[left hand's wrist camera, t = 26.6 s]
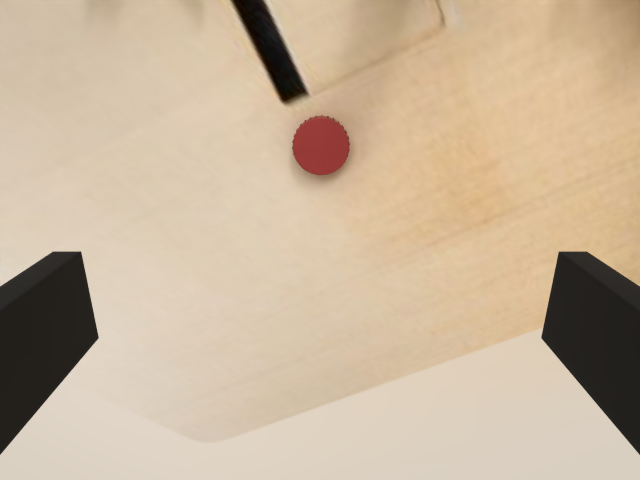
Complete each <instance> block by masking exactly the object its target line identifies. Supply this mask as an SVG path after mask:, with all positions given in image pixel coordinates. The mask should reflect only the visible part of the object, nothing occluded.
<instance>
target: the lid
mask: <svg viewBox="0 0 640 480" xmlns="http://www.w3.org/2000/svg"><path fill="white" fill-rule="evenodd" d="M343 128H344V127H343V126H341V125H340V124H339V122H337V121H335V120H334V118H333V119H332V118H329V116H327V117H324V116H323V115H321V116H318V117H317V116H316V117H313V118H311V117H310V119H308V120H307V121H306V120H305V122H304V123H303V124H301V125H300V127H299V129H297V132H296V134H295V135H294V140H293V148H292V149H293V152H294V156H295V158H296V160H297V162H298V163H299V165H300V166H301V167H302V168H303V169H305V170H306V171H308V172H310V173H312V174H317V175H325V174H329V173H332V172H334V171H336V170H337V169H339V168H340V167H341V166H342V165H343V163H344V162H345V160H346V158H347V157H348V152H349V145H350V144H349V141H348V139H349V138H348V136H347V135H346V133H347V132H346V130H344V129H343Z"/></svg>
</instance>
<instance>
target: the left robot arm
mask: <svg viewBox="0 0 640 480" xmlns="http://www.w3.org/2000/svg"><path fill="white" fill-rule="evenodd" d="M98 338H99V337H98V332H97V327H96V323H95V318H94V313H93V308H92V303H91V298H90V293H89V288H88V283H87V278H86V273H85V269H84V264H83V259H82V254H81V252H52V253H50V254H49V255H47V256H46V257H44V258H43V259H41V260H40V261H38V262H37V263H35V264H34V265H32V266H31V267H29V268H28V269H26V270H25V271H23V272H22V273H20V274H19V275H17V276H16V277H14V278H13V279H11V280H10V281H8V282H7V283H5V284H3V285H2V286H0V454H1V453H2V452H3V451H4V450H5V448H6V447H7V446H8V445H9V444H10V442H11V441H12V440H13V439H14V438H15V436H16V435H17V434H18V433H19V432H20V431H21V429H22V428H23V427H24V426H25V425H26V423H27V422H28V421H29V420H30V419H31V418H32V416H33V415H34V414H35V413H36V412H37V410H38V409H39V408H40V407H41V406H42V405H43V403H44V402H45V401H46V400H47V399H48V397H49V396H50V395H51V394H52V393H53V391H54V390H55V389H56V388H57V387H58V386H59V384H60V383H61V382H62V381H63V380H64V378H65V377H66V376H67V375H68V374H69V373H70V371H71V370H72V369H73V368H74V367H75V365H76V364H77V363H78V362H79V361H80V359H81V358H82V357H83V356H84V355H85V354H86V352H87V351H88V350H89V349H90V348H91V346H92V345H93V344H94V343H95V342H96V341H97V339H98ZM542 339H543V341H544V342H545V343H546V344H547V345H548V346H549V348H550V349H551V350H552V351H553V352H554V354H555V355H556V356H557V357H558V358H559V359H560V361H561V362H562V363H563V364H564V365H565V367H566V368H567V369H568V370H569V371H570V373H571V374H572V375H573V376H574V377H575V378H576V380H577V381H578V382H579V383H580V384H581V386H582V387H583V388H584V389H585V390H586V391H587V393H588V394H589V395H590V396H591V397H592V399H593V400H594V401H595V402H596V403H597V404H598V406H599V407H600V408H601V409H602V410H603V412H604V413H605V414H606V415H607V416H608V418H609V419H610V420H611V421H612V422H613V424H614V425H615V426H616V427H617V428H618V429H619V431H620V432H621V433H622V434H623V435H624V437H625V438H626V439H627V440H628V441H629V442H630V444H631V445H632V446H633V447H634V448H635V450H636V451H637V452H638V453H639V454H640V286H638V285H637V284H635V283H633V282H632V281H630V280H629V279H627V278H626V277H624V276H623V275H621V274H620V273H618V272H617V271H615V270H614V269H612V268H611V267H609V266H608V265H606V264H605V263H603V262H602V261H600V260H599V259H597V258H596V257H594V256H593V255H591V254H590V253H588V252H559V254H558V259H557V264H556V269H555V273H554V278H553V283H552V288H551V293H550V298H549V303H548V308H547V313H546V318H545V323H544V327H543V332H542Z"/></svg>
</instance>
